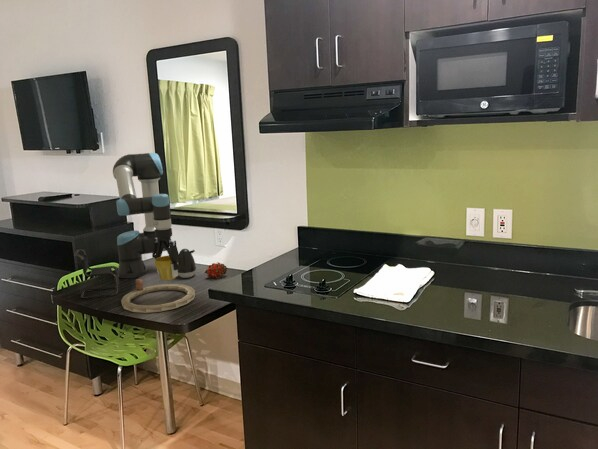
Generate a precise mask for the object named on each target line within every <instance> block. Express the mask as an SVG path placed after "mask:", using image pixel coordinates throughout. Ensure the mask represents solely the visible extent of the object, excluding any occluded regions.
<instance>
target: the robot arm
mask: <svg viewBox="0 0 598 449" xmlns="http://www.w3.org/2000/svg"><path fill="white" fill-rule="evenodd" d="M163 174H164V170H163V164H162V162H161V157H160V156H159V154H158V153H156V152H155V153H154V152H147V153H146V152H145V153H134V154H133V153H132V154H131V153H130V154H129V153H128V154H125V155H123V156H121V157H120V158H118V160H116V162H115V163H114V165H113V166H112V175H113V178H114V179H115V180H116V184H117V185H116V186H117V191H118V196H119V199H116V202H115V203H116V210H117V214H118V216H120V217H121V216H133V215H141V214H144V222H145V226H144V228H143V229H142V231H143V232H140V231H139V230H129V231H126V232H123V233H121V234H119V235H118V236H117V237H116V242H117V243H116V244H117V251H118V261H119V264H118V266H117V267H118V268H117V270H118V277H119V278H120V279H135V278H140V277H142V276H144V275H146V274H147V273H148V269H147V267H146V264H145V263H144V261H143V257H142V256H143V255H148V254H151V256H152V259H154V260H155V259H156V258H158V257H162V254H163V252H167V254H168V256H169V257H170V259H171V261H172V263H171V268H172V277H175V278H176V277H179V275H178V264H177V263H178V262H180V261H181V260H180V257H179V251H178V250H179V249H178V247H177V241H176V240H172V236H173V229H172V218H171V206H170V199H169V198H170V197H169V195H168V194H167V193H160V191H159V190H160V189H159V180H161V176H162V175H163ZM133 177H137V181H138V182H140V185H141V191H142V192H141V193H142V197H137V193H136V188H135V185H134V180H133ZM177 259H178V260H177ZM156 272H157V274H159V272H158V269H157V268H156Z"/></svg>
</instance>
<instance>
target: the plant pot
mask: <svg viewBox="0 0 598 449" xmlns="http://www.w3.org/2000/svg"><path fill="white" fill-rule="evenodd" d="M177 260H178V259H177ZM171 263H172V261H171V259H170V257H169V255H163V256H162V255H161V257H158V258H156V259H155V258H154V266H155V268H156V270H157V269H158V272H159V273H158V274H159V276H160V280H161V281H172V280H174V279H176V277H172V268H171ZM177 264H178V263H177Z"/></svg>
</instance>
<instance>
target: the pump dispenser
mask: <svg viewBox="0 0 598 449" xmlns="http://www.w3.org/2000/svg"><path fill="white" fill-rule="evenodd" d="M195 252H196V251H195V249H192V250H189V249H188V248H182V249H180V250H179V251H178V253H179V257H180V260H181V261H180V262H178V277H180V278H182V279H189V278H191V277H192V278H193V276H195V273H196V270H197V266H196V261H195V259H194V256H193V253H195Z"/></svg>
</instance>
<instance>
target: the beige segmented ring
mask: <svg viewBox="0 0 598 449" xmlns="http://www.w3.org/2000/svg"><path fill="white" fill-rule="evenodd" d="M143 283H144V282H143V279H142V278H137V279H135V286H136V287H135V288H136V289H134V290H131V291H130V292H128V293H127V294H125V295H124V296H123V297H122V298H121V300H120V302H121V306H122V308H123V309H124V310H127V311H129V312H132V313H145V314H148V313H157V312H159V313H160V312H164V311H170V310H174V309H178V308H179V307H183V306H185V305H187V304H189V303H190V302H192V301H193V300H194V299H195V296H196V290H195V289H194V288H193V287H192V286H190V285H187V284H181V283H163V284H162V283H161V284H154V285H153V284H152V285H149V286H144V284H143ZM168 290H169V291H180V292H183V293H186V294H185V296H183V297H181V298H180V299H179V298H178V299H176V300H174V301H172V302H167V303H162V304H156V305H155V304H152V305H146V304H145V305H142V304H141V305H140V304H136V303H133V302H131V301H132V300H133V299H135V298H137V297H139V296H141V295H145V294H148V293H152V292H156V291H168Z"/></svg>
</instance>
